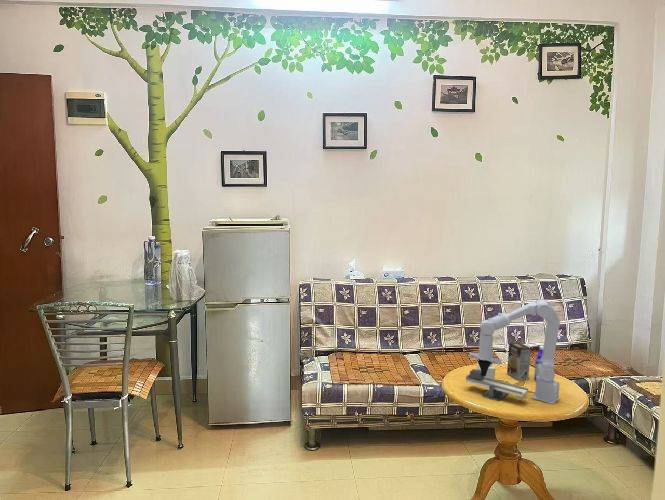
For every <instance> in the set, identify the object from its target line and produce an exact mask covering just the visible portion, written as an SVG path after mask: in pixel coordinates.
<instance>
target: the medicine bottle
mask: <svg viewBox="0 0 665 500" xmlns="http://www.w3.org/2000/svg"><path fill="white" fill-rule="evenodd" d="M493 364H494V363H491V365H490V366H489V368H488V370H487V373H486V376H485V377H486V378H490V379H494V380H496V368H495V366H494V365H493ZM476 370H481V369H480V366H479V364H478V362H477V363H476Z"/></svg>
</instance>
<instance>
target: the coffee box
mask: <svg viewBox="0 0 665 500" xmlns="http://www.w3.org/2000/svg"><path fill="white" fill-rule="evenodd" d="M531 351H532V348H531V347H530V346H528V345H527V344H524V343H522V342H519V341H518V342H509V343H508V355H507V356H508V357H507V368H506V371H507V372H506V374H507V375H508V376H510V377H511V378H513V379H515V380H517V381H526V380H529V374H530V363H531V355H532V354H531V353H532V352H531Z"/></svg>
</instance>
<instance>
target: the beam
mask: <svg viewBox="0 0 665 500" xmlns="http://www.w3.org/2000/svg"><path fill="white" fill-rule="evenodd" d="M502 381H503V380H501V381H498V380H497V379H495V380H494V379H490V378H486V377H484V380H482V381H478V380H475V379H471V378H470V373H468V374H466V375H465V382H466V383H469V384H472V385H473V384H474V385H477V386H479V387H480V386H481V387H485V388H488V389H489V386H493V387H494V389H495V390H499V391H502V392H506V393H509V395H510V394H511V395H514V396H515V397H516V400H518V401H523V400H524V399H526V398H527V394H528V393H529V388H528V387H524V386H520V385H517V384H513V383H509V382H505V381H503V382H502Z"/></svg>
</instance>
